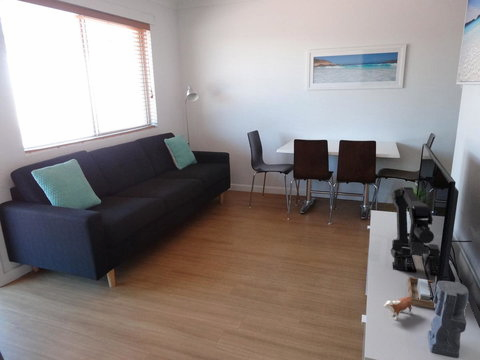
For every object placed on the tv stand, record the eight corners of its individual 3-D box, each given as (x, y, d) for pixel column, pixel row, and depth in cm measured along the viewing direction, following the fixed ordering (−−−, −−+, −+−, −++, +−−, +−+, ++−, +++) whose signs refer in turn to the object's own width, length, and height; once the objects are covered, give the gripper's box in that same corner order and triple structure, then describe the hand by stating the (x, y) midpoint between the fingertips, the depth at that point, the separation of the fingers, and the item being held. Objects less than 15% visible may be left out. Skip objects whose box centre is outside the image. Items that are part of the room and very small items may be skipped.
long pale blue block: (417, 286, 160) (418, 278, 159) (426, 287, 159) (427, 279, 158) (419, 303, 148) (421, 295, 147) (429, 305, 147) (430, 296, 146)
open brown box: (407, 282, 164) (408, 276, 163) (434, 286, 160) (435, 281, 159) (410, 304, 148) (410, 298, 148) (440, 309, 144) (441, 303, 144)
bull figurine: (380, 316, 142) (382, 299, 139) (406, 308, 146) (408, 291, 144) (388, 323, 138) (390, 305, 135) (415, 314, 142) (417, 297, 140)
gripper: (394, 237, 150) (390, 270, 154) (444, 243, 143) (439, 277, 147) (393, 227, 159) (390, 258, 164) (440, 232, 153) (435, 264, 157)
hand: (413, 264), depth 158 cm, fingers open, 9 cm apart
